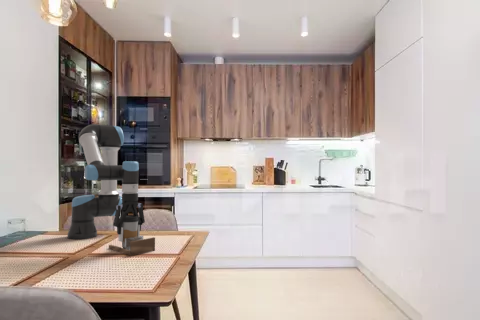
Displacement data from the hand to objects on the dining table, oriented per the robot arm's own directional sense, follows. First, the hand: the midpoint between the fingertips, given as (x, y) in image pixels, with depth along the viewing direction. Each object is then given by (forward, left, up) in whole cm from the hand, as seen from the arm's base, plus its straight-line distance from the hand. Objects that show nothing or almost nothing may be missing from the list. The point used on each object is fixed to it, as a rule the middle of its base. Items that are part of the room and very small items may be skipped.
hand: (129, 239), depth 156 cm
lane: (+2, 0, -5) cm, 5 cm away
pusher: (+6, 0, -4) cm, 7 cm away
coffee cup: (0, 0, -4) cm, 4 cm away
